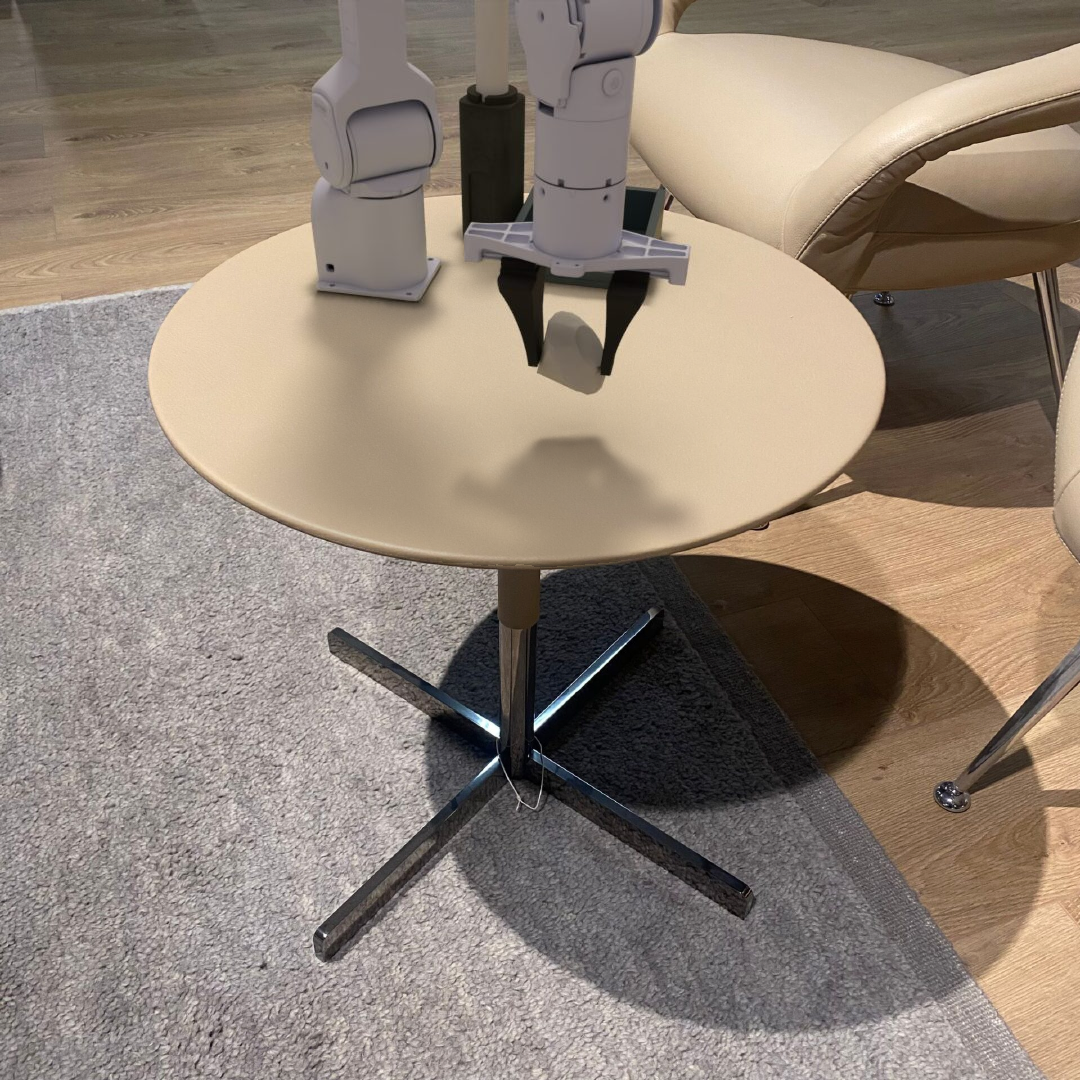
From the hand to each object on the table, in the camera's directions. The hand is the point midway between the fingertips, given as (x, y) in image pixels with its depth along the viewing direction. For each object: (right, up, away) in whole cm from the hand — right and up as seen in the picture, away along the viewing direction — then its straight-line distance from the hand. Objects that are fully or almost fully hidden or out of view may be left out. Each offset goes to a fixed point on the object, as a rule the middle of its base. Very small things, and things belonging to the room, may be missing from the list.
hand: (570, 364), depth 71 cm
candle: (-7, +18, +29) cm, 35 cm away
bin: (+2, +15, +26) cm, 30 cm away
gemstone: (0, -1, +1) cm, 2 cm away
